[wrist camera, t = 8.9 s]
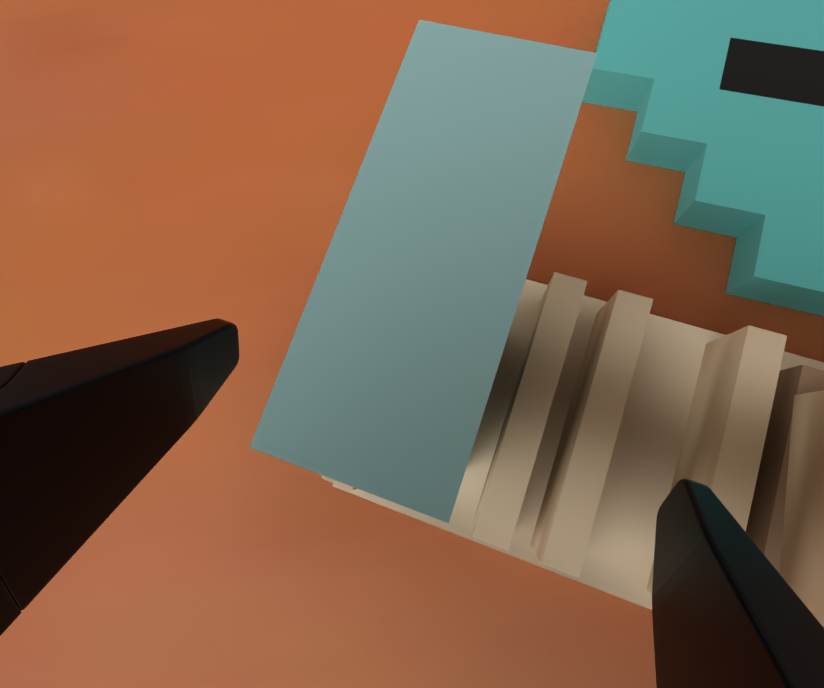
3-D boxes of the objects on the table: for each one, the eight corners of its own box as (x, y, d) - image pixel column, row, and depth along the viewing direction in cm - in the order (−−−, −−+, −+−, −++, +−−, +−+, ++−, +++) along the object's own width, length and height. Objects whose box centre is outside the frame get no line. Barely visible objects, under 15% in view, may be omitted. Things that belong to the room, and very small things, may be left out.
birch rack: (899, 699, 14) (1037, 779, 11) (340, 484, 17) (308, 492, 14) (942, 407, 15) (1075, 395, 12) (421, 259, 19) (410, 217, 15)
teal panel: (463, 469, 16) (448, 523, 4) (407, 448, 16) (249, 447, 5) (507, 329, 17) (597, 53, 5) (453, 313, 17) (419, 20, 5)
